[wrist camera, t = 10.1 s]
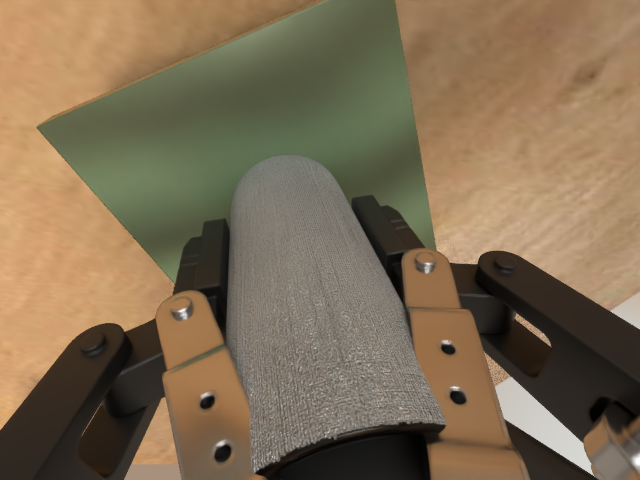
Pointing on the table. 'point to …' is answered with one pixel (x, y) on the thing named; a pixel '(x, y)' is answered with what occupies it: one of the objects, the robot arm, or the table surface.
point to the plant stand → (253, 124)
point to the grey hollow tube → (315, 321)
